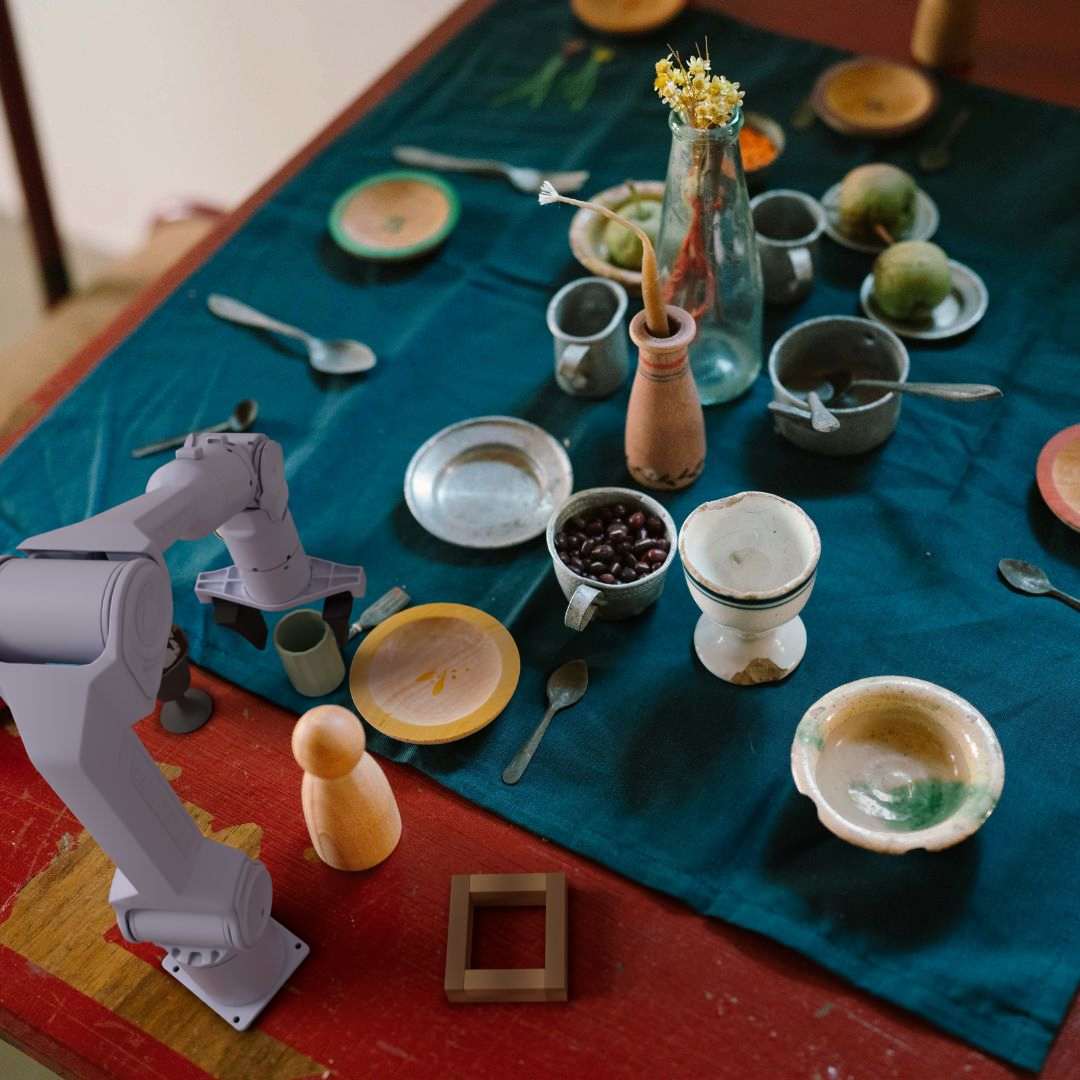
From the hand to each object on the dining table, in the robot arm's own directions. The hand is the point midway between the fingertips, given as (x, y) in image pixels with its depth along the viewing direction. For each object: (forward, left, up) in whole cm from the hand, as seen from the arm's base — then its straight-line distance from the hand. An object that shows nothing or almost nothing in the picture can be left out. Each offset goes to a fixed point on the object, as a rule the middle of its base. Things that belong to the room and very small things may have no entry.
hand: (303, 639), depth 107 cm
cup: (0, 0, -6) cm, 6 cm away
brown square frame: (+31, -10, -6) cm, 33 cm away
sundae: (-8, -10, -6) cm, 14 cm away
